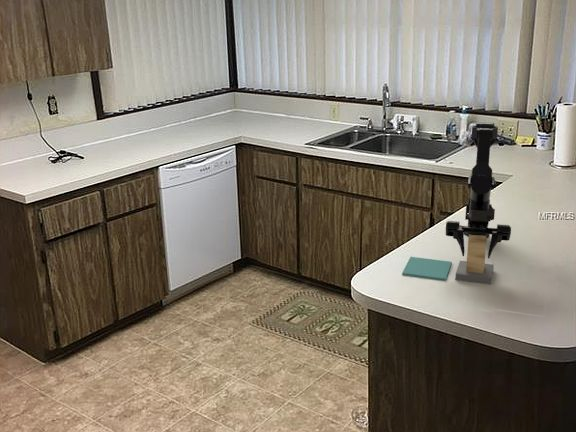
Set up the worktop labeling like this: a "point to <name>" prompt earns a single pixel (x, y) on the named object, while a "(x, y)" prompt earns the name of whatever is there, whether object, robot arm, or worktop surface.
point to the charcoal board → (474, 274)
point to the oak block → (476, 253)
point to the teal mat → (427, 268)
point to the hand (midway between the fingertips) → (475, 256)
